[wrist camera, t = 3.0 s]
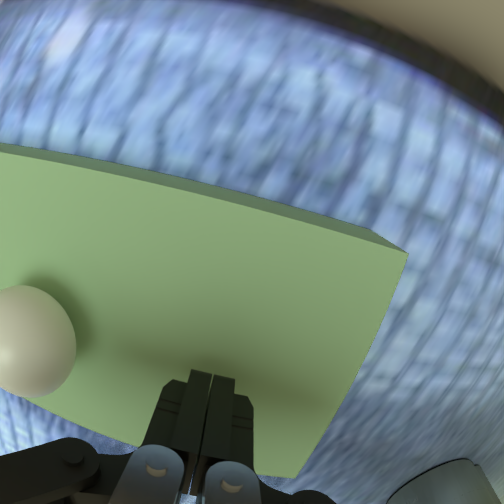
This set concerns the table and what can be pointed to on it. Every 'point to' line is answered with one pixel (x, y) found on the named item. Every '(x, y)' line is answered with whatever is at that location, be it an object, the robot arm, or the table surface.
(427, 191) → the table surface
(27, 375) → the ball
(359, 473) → the table surface
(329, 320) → the green
